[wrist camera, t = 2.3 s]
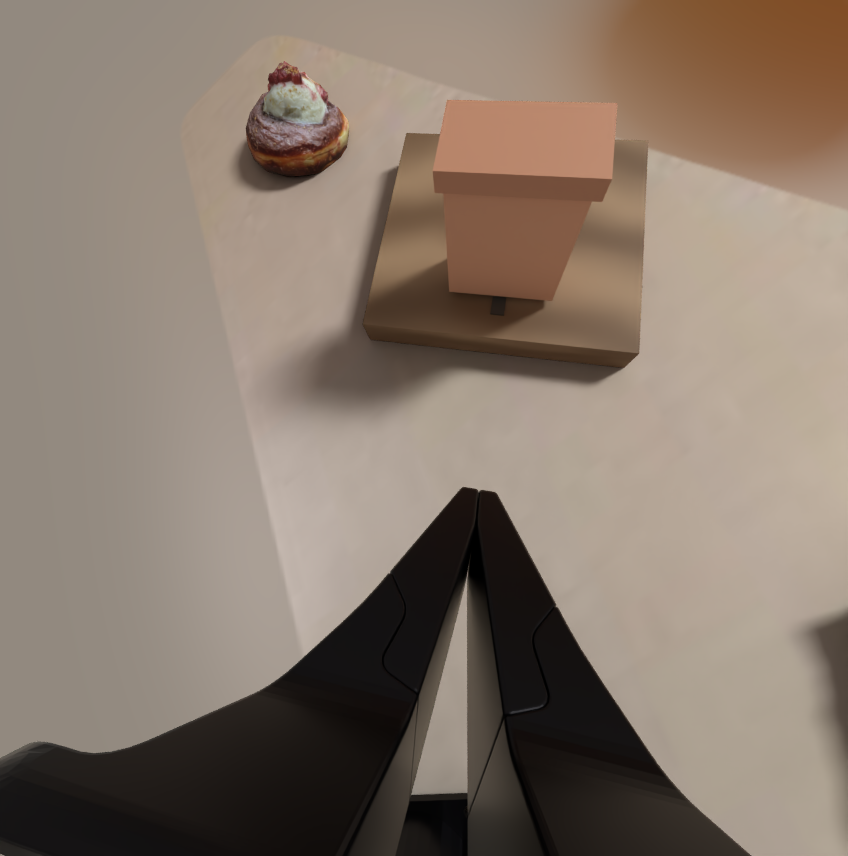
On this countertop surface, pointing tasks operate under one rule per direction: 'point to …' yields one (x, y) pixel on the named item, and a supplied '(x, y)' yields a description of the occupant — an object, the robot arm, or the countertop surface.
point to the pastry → (295, 125)
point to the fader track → (506, 316)
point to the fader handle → (519, 190)
